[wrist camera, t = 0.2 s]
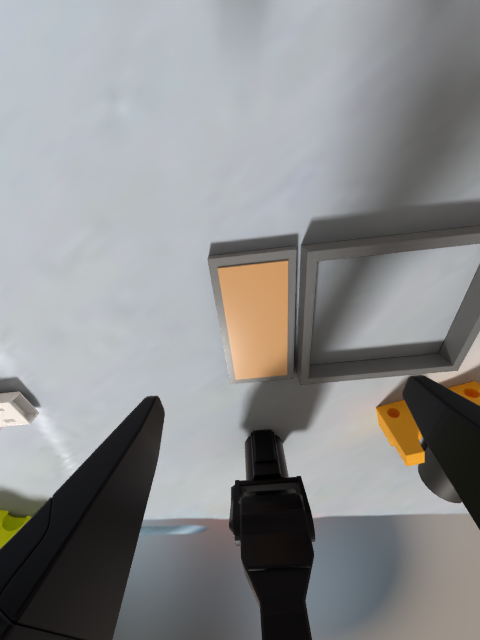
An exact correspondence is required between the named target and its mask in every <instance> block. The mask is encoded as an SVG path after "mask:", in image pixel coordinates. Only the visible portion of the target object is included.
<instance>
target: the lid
mask: <svg viewBox="0 0 480 640" xmlns="http://www.w3.org/2000/svg"><path fill="white" fill-rule="evenodd" d="M296 255H297V249H296V248H295V247H294V246H292V247H283V248H274V249H265V250H256V251H247V252H238V253H229V254H220V255H211V256H208V265H209V270H210V276H211V281H212V287H213V292H214V298H215V303H216V308H217V314H218V319H219V325H220V330H221V336H222V341H223V347H224V352H225V358H226V363H227V369H228V374H229V380H230V384H239V383H250V382H261V381H271V380H282V379H293V367H294V330H295V292H296Z"/></svg>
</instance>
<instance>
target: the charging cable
mask: <svg viewBox="0 0 480 640" xmlns="http://www.w3.org/2000/svg"><path fill="white" fill-rule="evenodd" d="M38 414H39V412H38V411H37V410H36V409H35V408H34V407H33V406H32V405H31V403H30V402H29V401H28V400H27V399H26V398H25V397H24V396H23V395H22V394H21V393H20V392H9V393H0V430H1V428H2V427H4V426H14V425H24V424H30V423H31V422H32V421H33V420H34V419H35V417H36V416H37V415H38Z"/></svg>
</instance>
